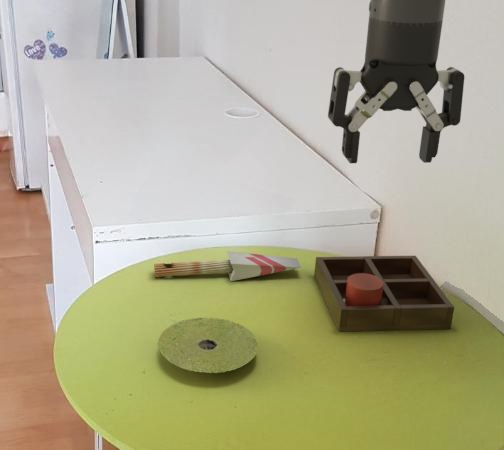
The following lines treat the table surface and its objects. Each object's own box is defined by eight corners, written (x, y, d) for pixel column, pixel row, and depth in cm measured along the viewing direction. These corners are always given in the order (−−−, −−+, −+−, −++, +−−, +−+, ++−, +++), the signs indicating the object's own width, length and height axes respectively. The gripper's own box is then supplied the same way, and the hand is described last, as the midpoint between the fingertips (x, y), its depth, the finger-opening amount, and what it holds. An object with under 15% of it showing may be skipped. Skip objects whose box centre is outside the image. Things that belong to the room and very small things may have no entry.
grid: (412, 275, 105) (415, 255, 104) (450, 329, 92) (454, 307, 91) (313, 276, 104) (315, 256, 103) (338, 331, 91) (341, 309, 90)
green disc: (163, 328, 91) (163, 314, 90) (256, 332, 90) (257, 318, 90) (152, 383, 81) (152, 368, 80) (257, 389, 80) (258, 374, 79)
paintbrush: (302, 259, 101) (154, 267, 100) (301, 277, 103) (154, 285, 101) (297, 247, 105) (153, 254, 104) (296, 264, 106) (154, 272, 105)
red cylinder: (373, 300, 97) (377, 272, 95) (384, 318, 93) (388, 289, 91) (340, 301, 96) (343, 273, 95) (349, 318, 92) (352, 290, 91)
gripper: (348, 20, 75) (334, 173, 81) (486, 20, 76) (462, 171, 82) (330, 8, 82) (319, 151, 88) (458, 9, 83) (437, 149, 89)
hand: (388, 160), depth 85 cm, fingers open, 8 cm apart
